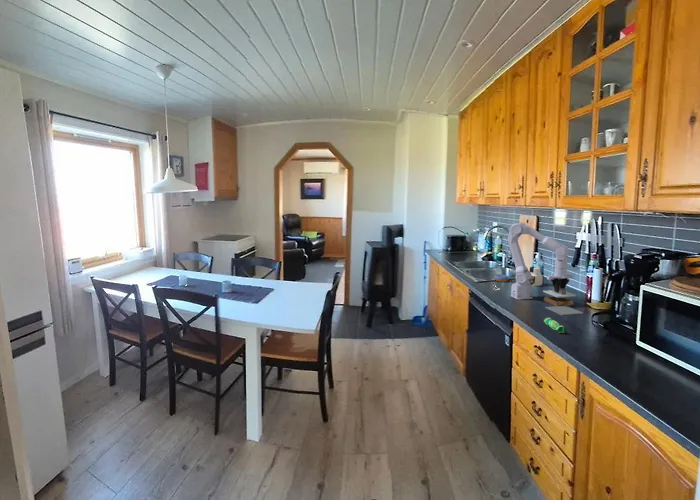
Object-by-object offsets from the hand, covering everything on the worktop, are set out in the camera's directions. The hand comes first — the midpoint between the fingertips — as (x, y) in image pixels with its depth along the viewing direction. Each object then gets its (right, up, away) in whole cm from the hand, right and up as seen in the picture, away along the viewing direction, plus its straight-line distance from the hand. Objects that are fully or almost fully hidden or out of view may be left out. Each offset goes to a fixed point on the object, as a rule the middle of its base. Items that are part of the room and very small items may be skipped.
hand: (559, 291), depth 189 cm
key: (-20, -2, +35) cm, 40 cm away
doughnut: (-9, +1, +53) cm, 54 cm away
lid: (0, -2, 0) cm, 2 cm away
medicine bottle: (+8, 0, +41) cm, 42 cm away
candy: (-23, -13, -33) cm, 43 cm away
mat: (-4, -9, -11) cm, 15 cm away
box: (0, -7, +1) cm, 7 cm away
